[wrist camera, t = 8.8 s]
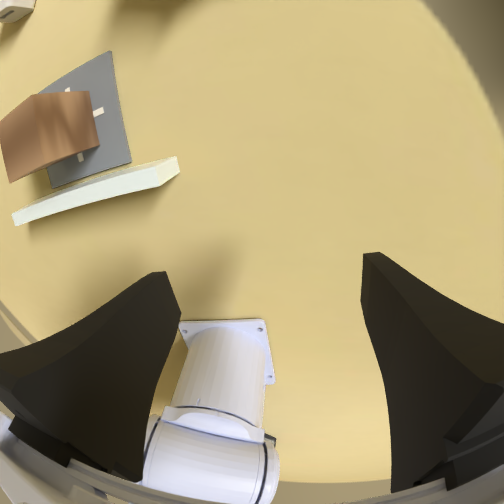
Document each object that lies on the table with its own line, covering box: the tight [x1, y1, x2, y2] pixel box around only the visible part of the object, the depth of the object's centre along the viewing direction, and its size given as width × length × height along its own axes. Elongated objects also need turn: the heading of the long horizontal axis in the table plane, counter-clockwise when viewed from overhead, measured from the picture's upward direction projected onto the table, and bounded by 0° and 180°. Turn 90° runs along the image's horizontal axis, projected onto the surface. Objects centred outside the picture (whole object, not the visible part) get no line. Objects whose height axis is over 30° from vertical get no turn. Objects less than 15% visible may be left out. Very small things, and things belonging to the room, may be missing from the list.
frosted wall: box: [11, 156, 180, 226], centre depth 18 cm, size 1×16×4 cm, turn 99°
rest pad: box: [38, 51, 132, 189], centre depth 17 cm, size 9×9×1 cm
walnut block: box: [0, 91, 100, 183], centre depth 14 cm, size 4×4×6 cm
